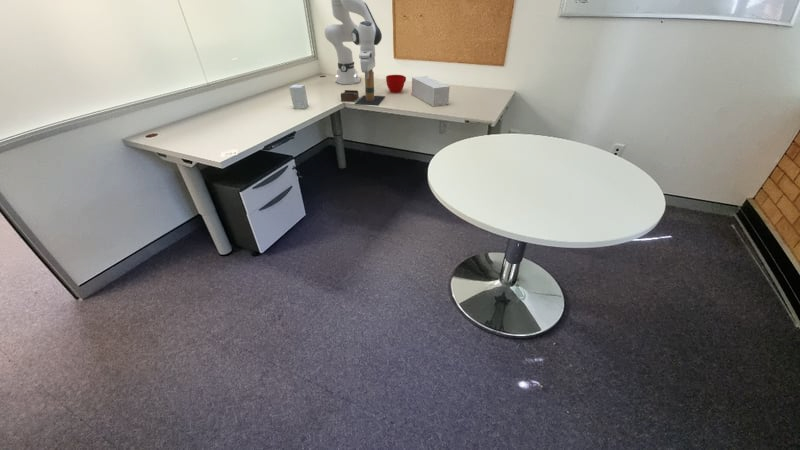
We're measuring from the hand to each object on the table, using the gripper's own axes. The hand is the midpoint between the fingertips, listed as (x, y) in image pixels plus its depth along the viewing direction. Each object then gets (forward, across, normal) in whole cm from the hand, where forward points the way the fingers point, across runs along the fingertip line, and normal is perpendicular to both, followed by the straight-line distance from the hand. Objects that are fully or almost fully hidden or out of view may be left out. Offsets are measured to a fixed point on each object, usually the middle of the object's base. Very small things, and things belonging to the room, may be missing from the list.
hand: (369, 77), depth 207 cm
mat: (+14, 0, 0) cm, 14 cm away
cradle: (+14, 0, -14) cm, 20 cm away
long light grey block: (+14, -10, +38) cm, 41 cm away
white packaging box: (+14, +22, -39) cm, 47 cm away
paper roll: (+5, 0, 0) cm, 5 cm away
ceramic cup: (+14, -26, +13) cm, 32 cm away
